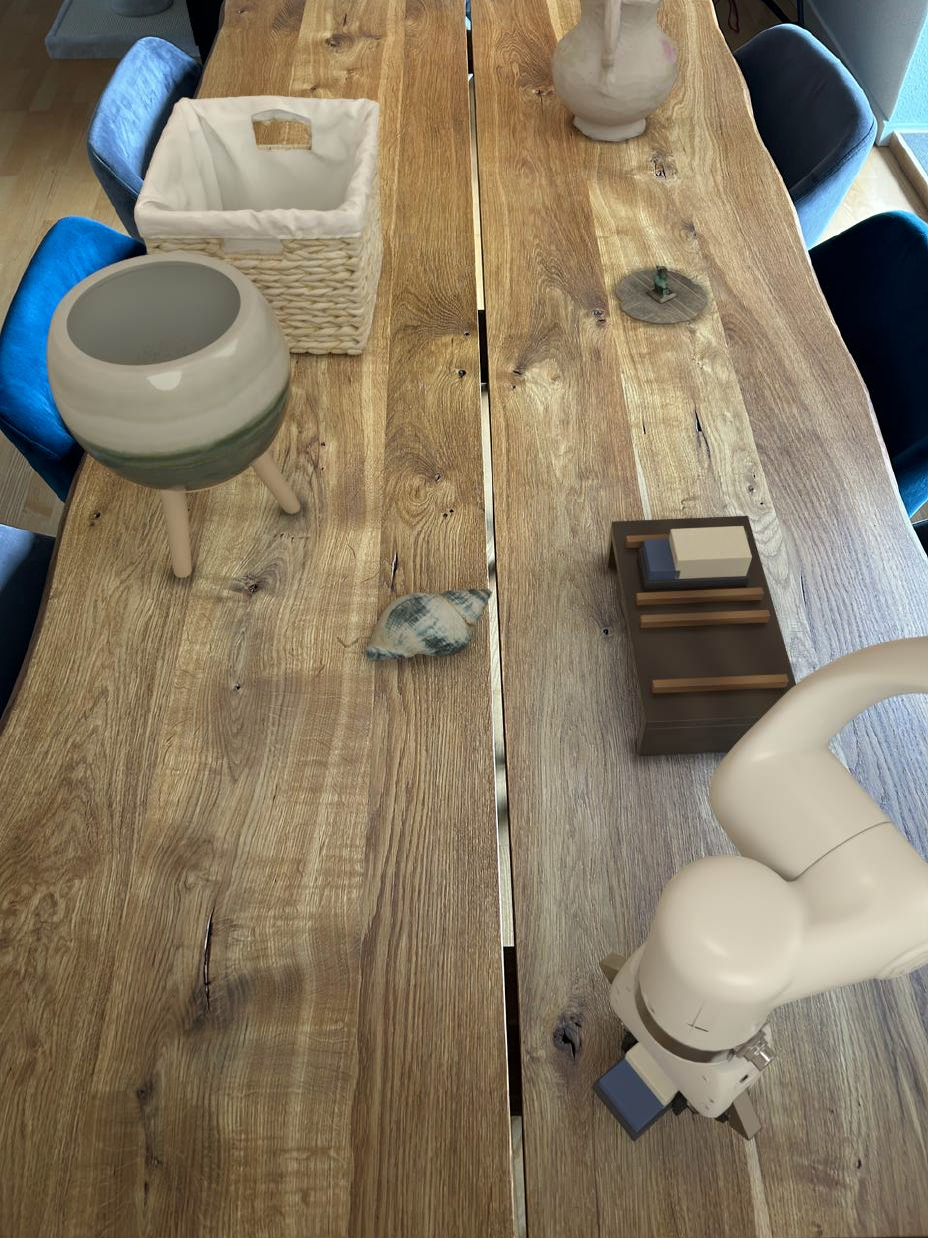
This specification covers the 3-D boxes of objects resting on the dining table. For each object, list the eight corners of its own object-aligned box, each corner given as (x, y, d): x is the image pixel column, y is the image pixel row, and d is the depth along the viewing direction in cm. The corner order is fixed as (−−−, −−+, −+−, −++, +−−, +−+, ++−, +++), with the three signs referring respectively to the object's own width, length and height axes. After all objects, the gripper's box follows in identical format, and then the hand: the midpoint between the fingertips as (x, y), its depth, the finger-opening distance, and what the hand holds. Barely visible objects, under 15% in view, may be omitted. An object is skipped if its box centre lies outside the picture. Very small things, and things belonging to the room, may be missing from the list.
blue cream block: (690, 1001, 77) (698, 984, 74) (734, 1050, 75) (743, 1036, 71) (591, 1088, 73) (594, 1074, 70) (633, 1142, 71) (639, 1131, 68)
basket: (379, 367, 128) (362, 208, 111) (170, 366, 129) (121, 207, 112) (395, 245, 145) (382, 90, 127) (209, 245, 146) (172, 91, 128)
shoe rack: (736, 553, 108) (750, 508, 103) (789, 749, 94) (808, 709, 88) (606, 559, 108) (612, 514, 102) (638, 756, 93) (647, 716, 88)
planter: (147, 450, 120) (69, 237, 98) (332, 454, 119) (295, 240, 97) (95, 596, 107) (-9, 387, 84) (303, 602, 105) (253, 392, 83)
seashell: (376, 629, 105) (492, 636, 104) (362, 665, 98) (485, 674, 97) (374, 573, 102) (493, 580, 101) (359, 607, 95) (486, 615, 94)
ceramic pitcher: (673, 166, 158) (714, -9, 139) (549, 160, 157) (572, -17, 138) (655, 100, 172) (689, -69, 152) (540, 94, 170) (560, -76, 151)
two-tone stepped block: (738, 551, 100) (746, 523, 97) (747, 586, 98) (756, 559, 95) (637, 555, 100) (642, 528, 97) (644, 590, 98) (649, 563, 94)
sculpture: (631, 264, 141) (674, 232, 135) (672, 314, 144) (716, 284, 138) (602, 307, 134) (646, 275, 128) (646, 359, 137) (691, 329, 131)
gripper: (857, 1072, 56) (787, 1135, 71) (647, 848, 65) (622, 946, 79) (764, 1164, 54) (710, 1210, 68) (557, 919, 62) (549, 1007, 77)
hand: (663, 1067), depth 74 cm, fingers closed on blue cream block, 4 cm apart
